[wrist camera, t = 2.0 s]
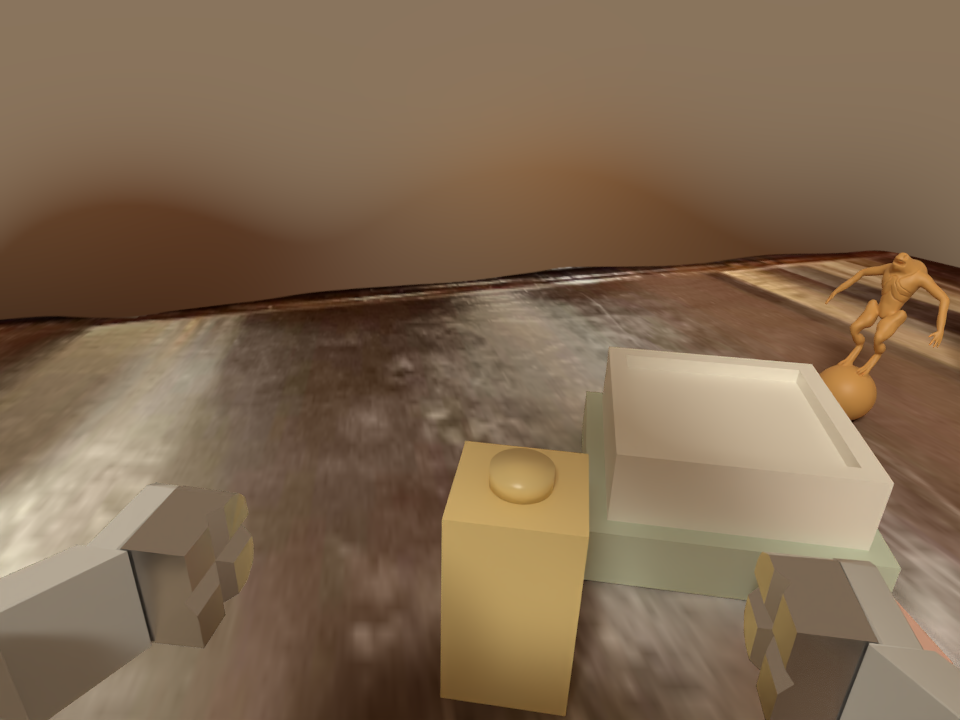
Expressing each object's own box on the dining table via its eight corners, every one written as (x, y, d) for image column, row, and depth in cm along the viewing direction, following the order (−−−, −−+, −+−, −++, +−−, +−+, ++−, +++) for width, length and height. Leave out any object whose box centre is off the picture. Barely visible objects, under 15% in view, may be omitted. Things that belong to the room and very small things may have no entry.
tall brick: (440, 697, 27) (442, 500, 23) (461, 603, 31) (466, 424, 27) (565, 716, 26) (591, 518, 22) (568, 617, 31) (591, 437, 26)
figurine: (771, 395, 51) (810, 241, 45) (826, 381, 53) (870, 233, 48) (869, 452, 44) (929, 279, 39) (927, 433, 46) (991, 268, 41)
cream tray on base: (580, 579, 33) (594, 464, 30) (582, 430, 45) (592, 338, 42) (881, 617, 31) (928, 500, 28) (797, 452, 44) (824, 358, 41)
